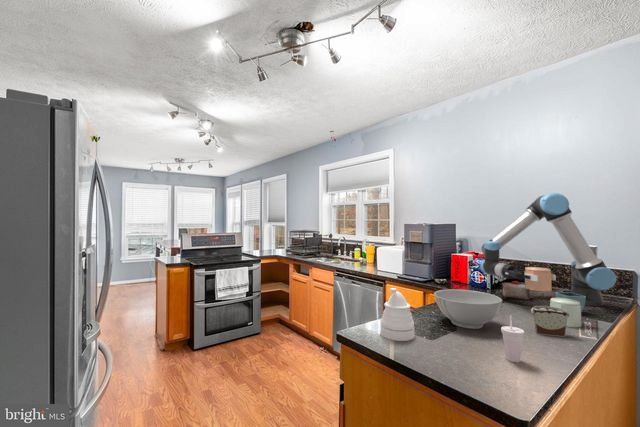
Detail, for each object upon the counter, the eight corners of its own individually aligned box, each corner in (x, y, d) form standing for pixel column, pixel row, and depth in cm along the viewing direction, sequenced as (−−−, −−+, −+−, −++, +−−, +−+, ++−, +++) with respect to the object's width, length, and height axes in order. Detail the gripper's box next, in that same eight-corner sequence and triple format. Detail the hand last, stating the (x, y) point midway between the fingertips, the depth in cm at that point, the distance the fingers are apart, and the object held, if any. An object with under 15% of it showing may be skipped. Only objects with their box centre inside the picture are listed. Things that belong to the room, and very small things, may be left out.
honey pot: (395, 343, 110) (395, 293, 110) (374, 331, 121) (374, 286, 122) (421, 337, 116) (421, 290, 116) (398, 326, 127) (398, 284, 128)
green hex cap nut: (562, 318, 139) (561, 297, 139) (586, 326, 129) (585, 302, 130) (545, 320, 136) (545, 298, 137) (568, 328, 127) (568, 304, 127)
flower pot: (573, 310, 153) (573, 292, 154) (587, 315, 145) (586, 296, 145) (555, 309, 154) (554, 291, 155) (567, 314, 146) (567, 296, 146)
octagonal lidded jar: (536, 286, 153) (535, 266, 154) (556, 290, 144) (555, 269, 144) (520, 287, 151) (520, 267, 151) (539, 291, 141) (539, 270, 141)
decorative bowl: (424, 324, 131) (423, 296, 131) (447, 311, 150) (446, 286, 151) (493, 340, 112) (493, 308, 113) (509, 323, 132) (508, 295, 132)
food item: (501, 297, 181) (501, 280, 181) (504, 294, 187) (503, 278, 187) (528, 301, 172) (528, 283, 172) (530, 298, 177) (530, 281, 178)
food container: (563, 332, 122) (562, 307, 122) (569, 337, 116) (569, 311, 117) (527, 328, 126) (527, 304, 126) (532, 333, 120) (532, 308, 121)
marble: (534, 312, 148) (534, 306, 148) (540, 314, 145) (540, 308, 145) (529, 313, 147) (529, 306, 148) (535, 315, 144) (535, 308, 144)
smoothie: (496, 355, 100) (496, 313, 100) (515, 355, 100) (514, 312, 101) (510, 364, 93) (510, 319, 94) (530, 364, 94) (529, 318, 94)
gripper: (522, 277, 168) (564, 285, 146) (489, 278, 162) (527, 287, 140) (522, 263, 168) (564, 269, 146) (489, 264, 162) (527, 271, 140)
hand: (546, 278), depth 143 cm, fingers closed on octagonal lidded jar, 10 cm apart
